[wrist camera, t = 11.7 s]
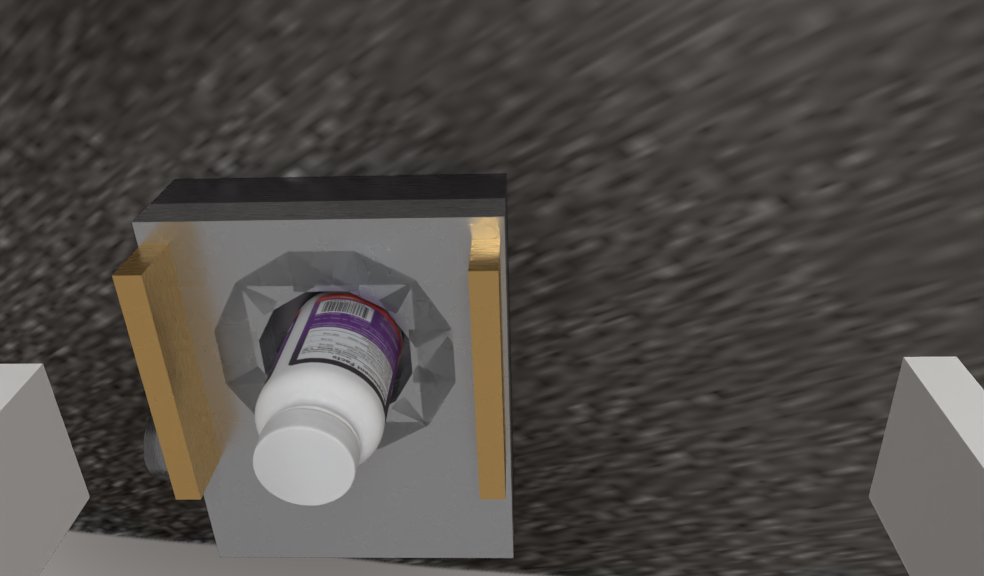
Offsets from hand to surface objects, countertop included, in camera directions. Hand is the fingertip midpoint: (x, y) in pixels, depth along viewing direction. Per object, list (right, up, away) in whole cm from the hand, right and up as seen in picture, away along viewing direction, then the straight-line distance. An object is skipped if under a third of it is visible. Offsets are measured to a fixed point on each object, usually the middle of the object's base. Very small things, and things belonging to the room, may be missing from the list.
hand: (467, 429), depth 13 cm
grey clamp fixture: (-8, -1, +31) cm, 33 cm away
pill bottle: (-7, 0, +28) cm, 28 cm away
